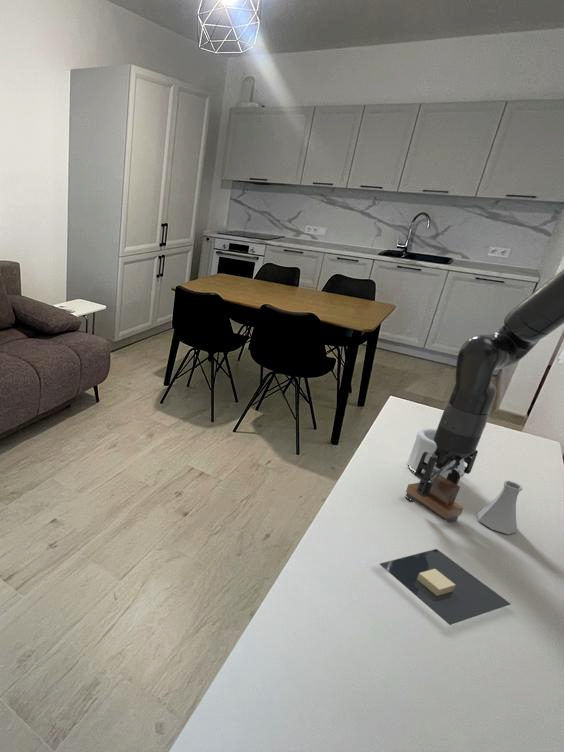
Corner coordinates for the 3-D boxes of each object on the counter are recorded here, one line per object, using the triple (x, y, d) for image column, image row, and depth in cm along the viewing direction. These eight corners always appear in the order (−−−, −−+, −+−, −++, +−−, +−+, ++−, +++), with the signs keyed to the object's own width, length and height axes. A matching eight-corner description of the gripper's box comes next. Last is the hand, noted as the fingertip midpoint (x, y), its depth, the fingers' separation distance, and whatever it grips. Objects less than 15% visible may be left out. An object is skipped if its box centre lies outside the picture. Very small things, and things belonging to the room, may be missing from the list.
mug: (444, 489, 119) (458, 452, 115) (398, 467, 127) (410, 433, 123) (466, 473, 126) (480, 439, 123) (422, 454, 134) (434, 421, 131)
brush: (417, 494, 116) (428, 464, 113) (458, 521, 107) (470, 490, 104) (403, 497, 114) (414, 467, 111) (443, 524, 106) (456, 493, 103)
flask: (471, 521, 107) (488, 482, 104) (481, 509, 112) (497, 471, 108) (511, 539, 102) (530, 499, 99) (520, 526, 107) (538, 487, 103)
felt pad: (432, 574, 89) (435, 568, 89) (453, 591, 86) (456, 584, 85) (416, 579, 88) (419, 572, 88) (436, 596, 85) (439, 589, 84)
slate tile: (435, 552, 97) (436, 548, 96) (509, 608, 85) (511, 603, 84) (377, 567, 92) (379, 563, 91) (447, 629, 79) (449, 624, 79)
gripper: (453, 439, 97) (427, 507, 103) (501, 432, 102) (473, 497, 108) (420, 421, 104) (397, 486, 110) (466, 415, 109) (442, 478, 115)
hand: (435, 492), depth 109 cm, fingers open, 8 cm apart
